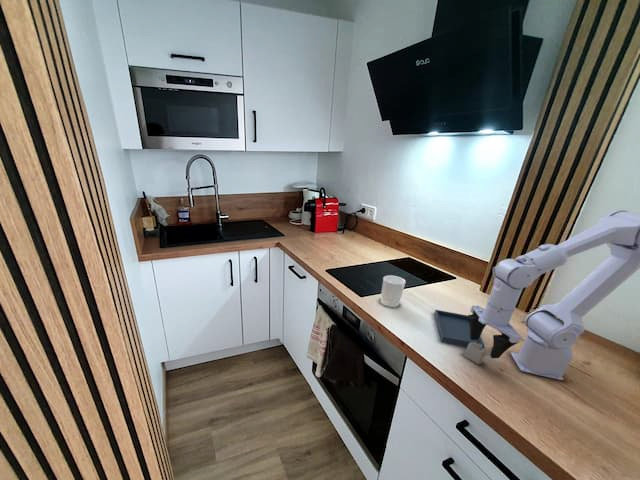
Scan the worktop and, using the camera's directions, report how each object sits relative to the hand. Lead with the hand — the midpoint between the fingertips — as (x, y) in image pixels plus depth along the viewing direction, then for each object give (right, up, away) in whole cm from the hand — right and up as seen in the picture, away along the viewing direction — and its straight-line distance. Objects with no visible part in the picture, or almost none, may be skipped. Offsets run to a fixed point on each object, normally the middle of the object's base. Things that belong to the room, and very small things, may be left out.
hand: (483, 347), depth 78 cm
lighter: (0, -5, +2) cm, 5 cm away
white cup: (-14, +9, +32) cm, 36 cm away
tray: (+2, +1, +16) cm, 16 cm away
